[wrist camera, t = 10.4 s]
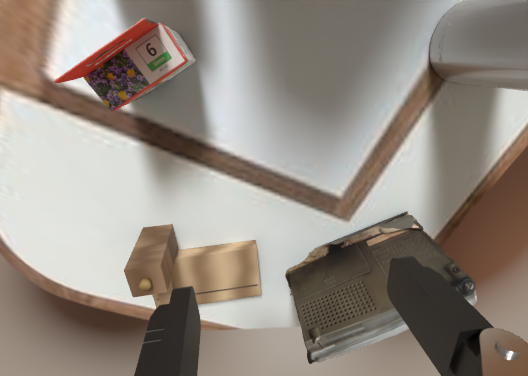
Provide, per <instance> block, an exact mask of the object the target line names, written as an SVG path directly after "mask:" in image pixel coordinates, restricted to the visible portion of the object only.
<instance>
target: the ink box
mask: <svg viewBox="0 0 528 376" xmlns="http://www.w3.org/2000/svg"><path fill="white" fill-rule="evenodd" d="M195 61H196V60H195V58H194V57H193V55H192V53H191V52H190V50H189V49H188V47H187V45H186V44H185V42H184V41H183V39H182V38H181V36H180V35H179V33H178V32H176V31H174V30H172V29H171V28H169V27H167V26H165V25H163V24H162V23H156V22H154V21H152V20H150V19H147V18H143V19H142V20H140V21H139V22H137V23H136V24H134V25H133V26H132V27H130V28H129V29H127V30H126V31H125V32H123V33H122V34H120V35H119V36H118V37H116V38H115V39H113V40H112V41H110V42H108V43H107V44H105V45H104V46H103V47H101V48H100V49H98V50H97V51H95V52H94V53H93V54H91V55H90V56H88V57H87V58H86V59H84V60H83V61H81V62H80V63H79V64H77V65H76V66H75V67H73V68H72V69H70V70H69V71H67V72H66V73H64V74H63V75H62V76H60V77H59V78H57V79H56V80H55V81H54V82H55V83H61V82H66V81H70V80H74V79H78V78H81V77H84V79H85V80H86V81H87V83H88V84H89V85H90V86H91V87H92V89H93V90H94V91H95V92H96V94H97V95H98V96H99V97H100V98H101V99H102V101H103V102H104V103H105V104H106V105H107V107H108V108H109V109H110V110H111V111H115V110H117V109H119V108H121V107H122V106H124V105H126V104H129V103H130V102H132V101H134V100H137V99H139V98H141V97H142V96H144V95H146V94H148V93H150V92H151V91H153V90H155V89H156V88H157V87H159V86H161V85H162V84H164V83H165V82H167V81H168V80H169V79H171V78H172V77H174V76H175V75H177V74H178V73H180V72H181V71H183V70H184V69H185V68H187V67H188V66H190V65H191V64H193V63H194V62H195Z"/></svg>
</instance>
